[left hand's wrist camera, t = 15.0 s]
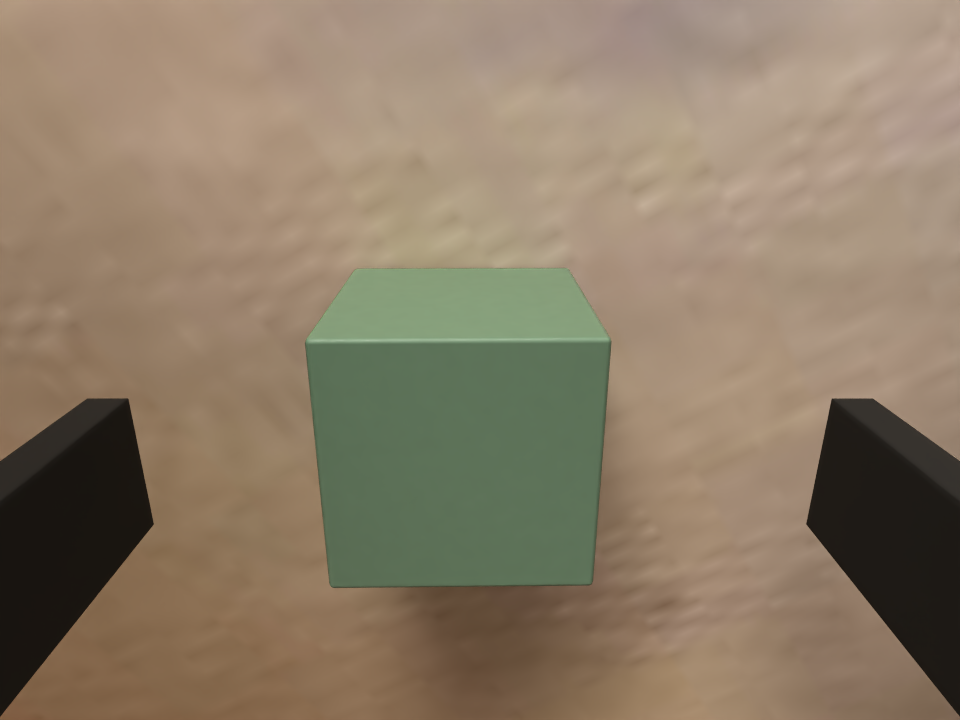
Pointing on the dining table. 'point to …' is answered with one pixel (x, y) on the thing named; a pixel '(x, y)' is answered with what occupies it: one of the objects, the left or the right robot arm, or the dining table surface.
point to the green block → (459, 428)
